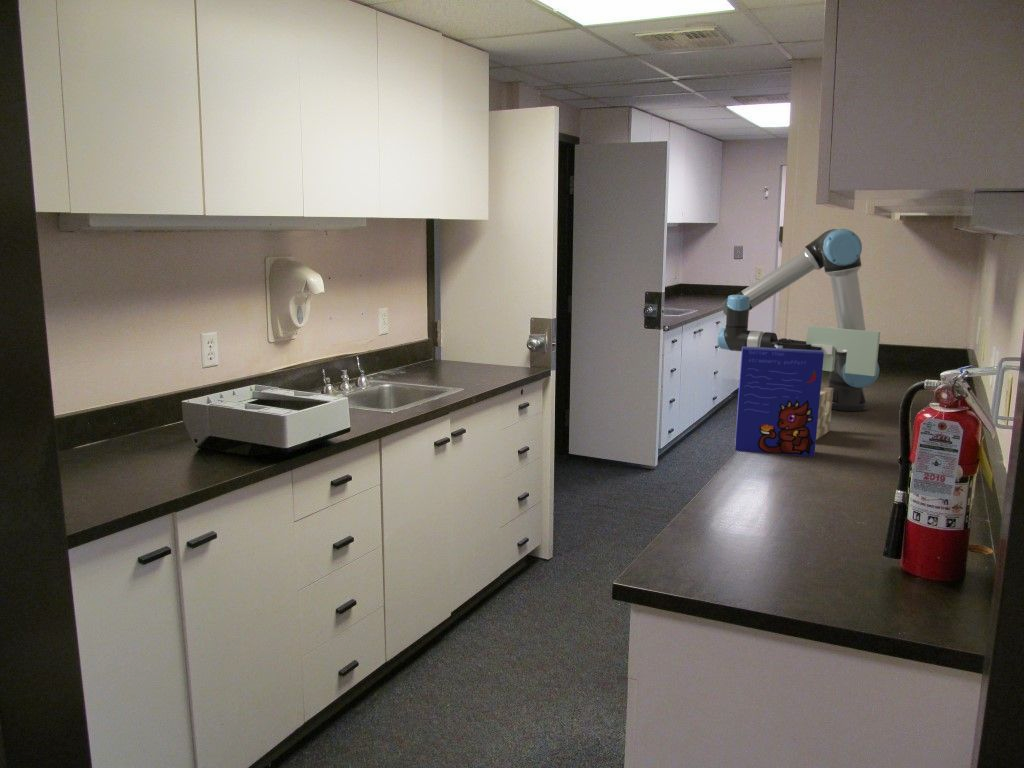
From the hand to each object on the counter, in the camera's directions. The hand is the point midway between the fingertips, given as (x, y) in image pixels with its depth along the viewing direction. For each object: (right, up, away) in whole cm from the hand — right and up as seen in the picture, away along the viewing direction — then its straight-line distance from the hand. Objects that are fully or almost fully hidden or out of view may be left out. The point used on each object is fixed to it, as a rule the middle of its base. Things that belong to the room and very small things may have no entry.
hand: (833, 349), depth 269 cm
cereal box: (-29, -31, -30) cm, 52 cm away
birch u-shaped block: (-10, -28, -13) cm, 32 cm away
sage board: (+2, -7, 0) cm, 7 cm away
